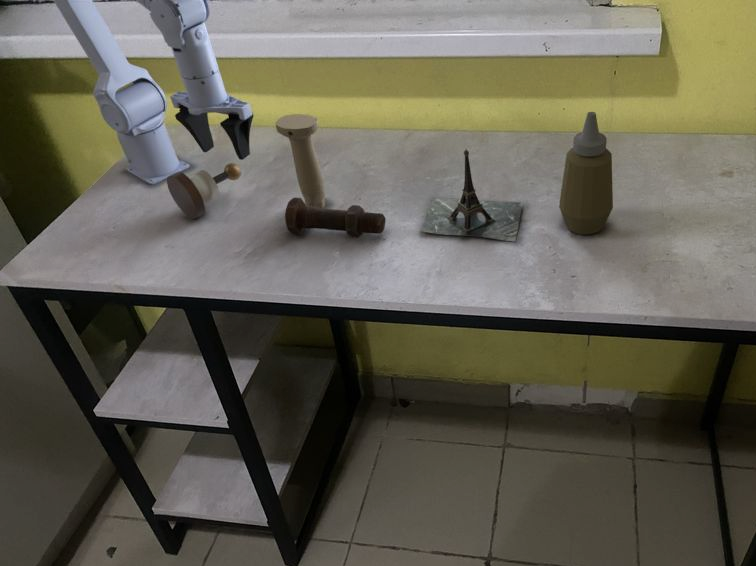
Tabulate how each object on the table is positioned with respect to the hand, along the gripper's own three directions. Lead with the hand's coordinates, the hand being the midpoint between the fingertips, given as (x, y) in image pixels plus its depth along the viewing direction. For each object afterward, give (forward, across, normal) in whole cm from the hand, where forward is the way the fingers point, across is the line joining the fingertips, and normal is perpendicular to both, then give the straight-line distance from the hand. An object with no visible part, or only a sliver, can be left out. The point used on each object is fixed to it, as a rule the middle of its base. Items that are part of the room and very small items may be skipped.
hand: (226, 153), depth 117 cm
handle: (+8, +16, +1) cm, 18 cm away
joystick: (+7, -1, -4) cm, 8 cm away
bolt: (+8, +24, -4) cm, 25 cm away
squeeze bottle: (+8, +59, +10) cm, 60 cm away
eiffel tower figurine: (+8, +42, +6) cm, 43 cm away
